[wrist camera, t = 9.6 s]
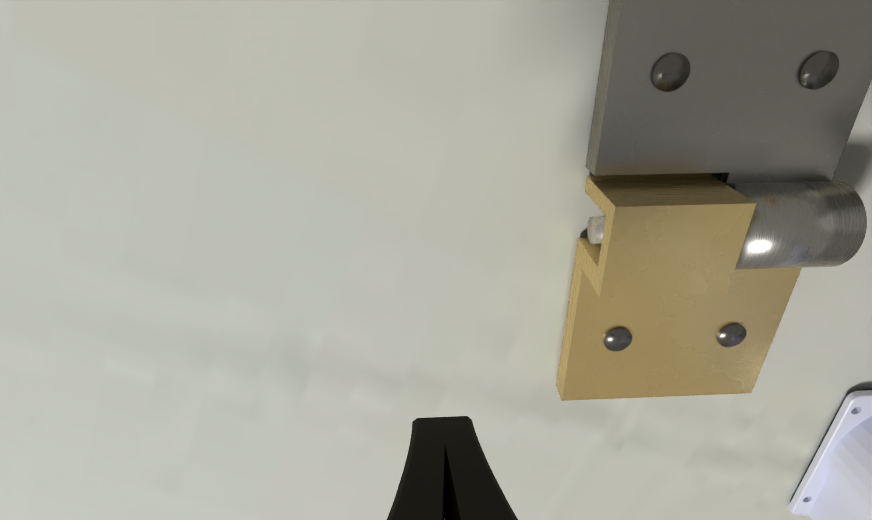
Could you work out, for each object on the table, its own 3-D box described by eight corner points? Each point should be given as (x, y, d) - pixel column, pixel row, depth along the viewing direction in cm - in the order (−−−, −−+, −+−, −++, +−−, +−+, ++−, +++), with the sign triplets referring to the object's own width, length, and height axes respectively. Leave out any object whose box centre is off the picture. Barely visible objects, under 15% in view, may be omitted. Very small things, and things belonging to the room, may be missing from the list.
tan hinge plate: (738, 378, 24) (778, 425, 22) (556, 385, 24) (574, 434, 21) (817, 170, 19) (882, 200, 16) (586, 176, 19) (615, 206, 16)
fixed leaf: (785, 242, 21) (844, 282, 18) (573, 248, 20) (600, 290, 18) (896, -53, 16) (1001, -61, 13) (616, -51, 15) (663, -60, 13)
